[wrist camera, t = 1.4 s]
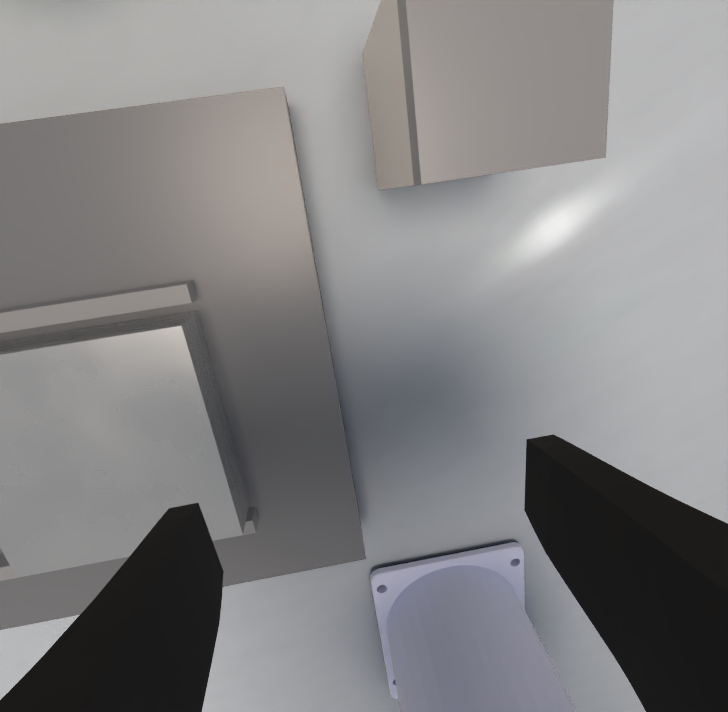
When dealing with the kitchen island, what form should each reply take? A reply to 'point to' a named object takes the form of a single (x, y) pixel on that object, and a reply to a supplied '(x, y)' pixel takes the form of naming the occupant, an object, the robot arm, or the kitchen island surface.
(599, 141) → the plug
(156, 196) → the socket plate
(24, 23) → the kitchen island surface
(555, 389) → the kitchen island surface
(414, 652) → the robot arm
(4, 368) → the shutter
